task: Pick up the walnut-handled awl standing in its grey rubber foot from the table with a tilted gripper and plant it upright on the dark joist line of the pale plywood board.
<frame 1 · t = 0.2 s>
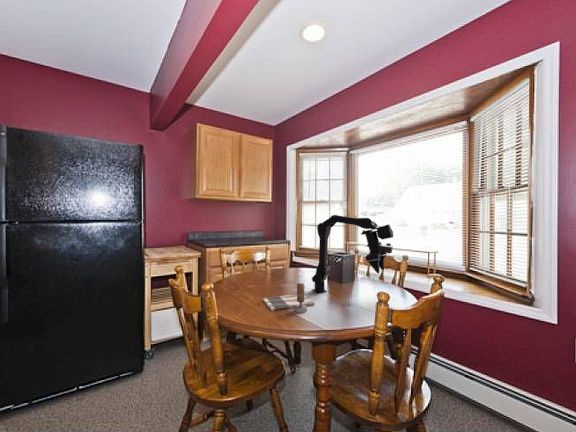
hand: (380, 271, 143), 15 cm above the table, fingers open, 9 cm apart
subfloor board: (288, 302, 142), on the table
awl: (300, 310, 130), on the table
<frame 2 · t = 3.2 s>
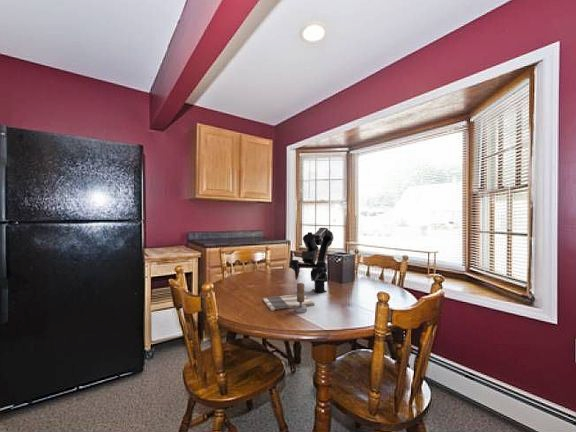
hand: (304, 280, 136), 13 cm above the table, fingers open, 9 cm apart
nothing on the table moved.
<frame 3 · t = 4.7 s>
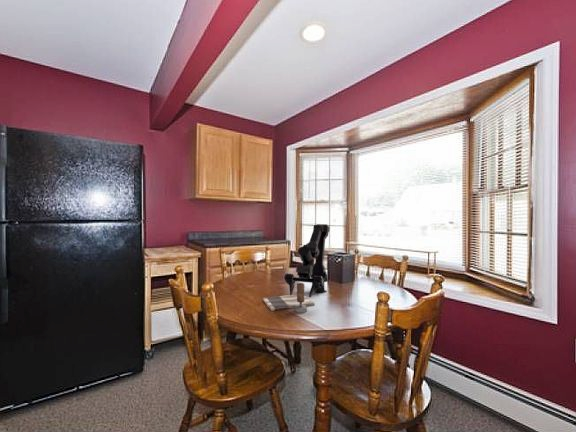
hand: (299, 296, 129), 7 cm above the table, fingers open, 9 cm apart
nothing on the table moved.
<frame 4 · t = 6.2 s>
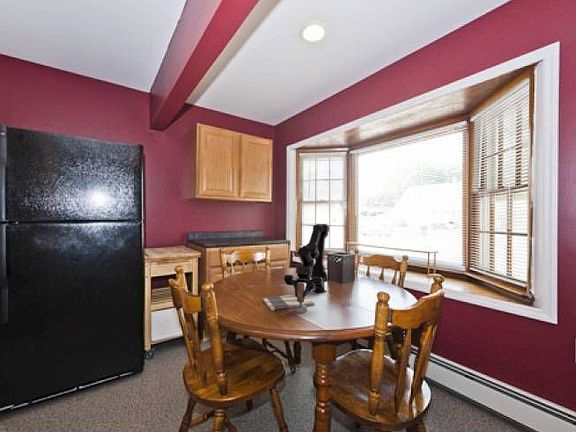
hand: (299, 297, 129), 7 cm above the table, fingers closed on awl, 3 cm apart
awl: (300, 310, 130), on the table, touching gripper
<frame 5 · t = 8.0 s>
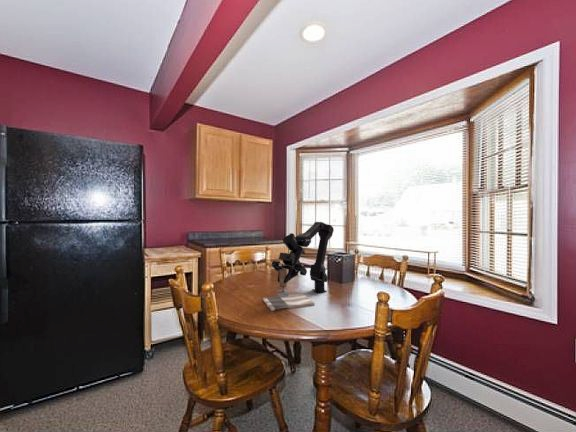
hand: (281, 282, 134), 12 cm above the table, fingers closed on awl, 3 cm apart
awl: (283, 295, 135), point 6 cm above the table, touching gripper
when the fingers open (9 cm above the table, at t = 9.8 s): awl stays where it is, resting on subfloor board.
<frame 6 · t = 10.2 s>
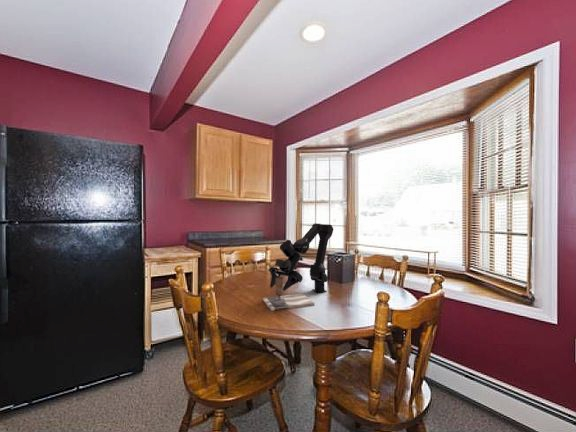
hand: (277, 288, 135), 9 cm above the table, fingers open, 8 cm apart
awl: (279, 303, 136), point 1 cm above the table, touching subfloor board
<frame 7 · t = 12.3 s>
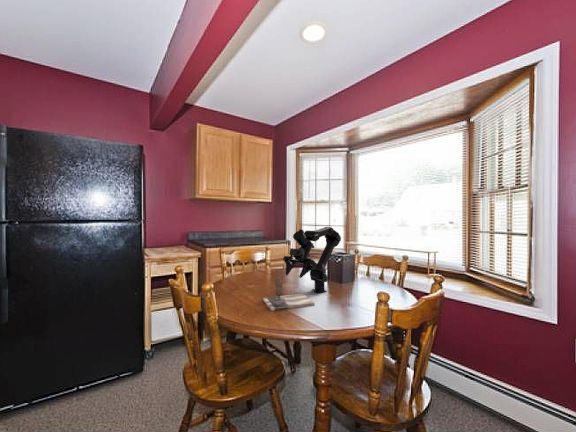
hand: (292, 276, 142), 13 cm above the table, fingers open, 9 cm apart
nothing on the table moved.
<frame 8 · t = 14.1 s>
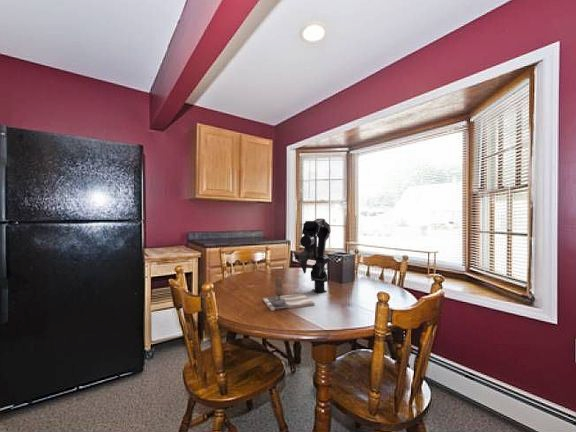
hand: (311, 274, 147), 13 cm above the table, fingers open, 9 cm apart
nothing on the table moved.
at the end: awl 0.1 cm from the target spot, point 1.3 cm above the table; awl tilted 1°; the gripper is holding nothing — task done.
